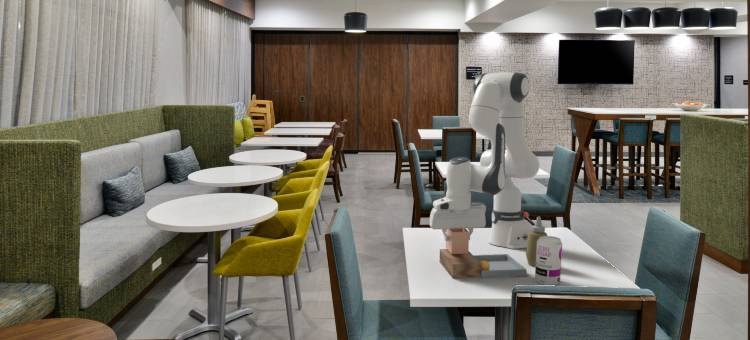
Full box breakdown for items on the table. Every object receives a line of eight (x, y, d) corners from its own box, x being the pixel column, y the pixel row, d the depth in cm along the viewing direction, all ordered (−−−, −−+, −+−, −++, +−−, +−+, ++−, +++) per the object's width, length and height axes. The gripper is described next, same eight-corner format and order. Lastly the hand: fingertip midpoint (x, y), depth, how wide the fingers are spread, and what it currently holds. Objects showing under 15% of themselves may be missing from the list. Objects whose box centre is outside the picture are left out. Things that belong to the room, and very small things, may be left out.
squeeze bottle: (545, 269, 206) (547, 220, 203) (522, 265, 210) (525, 217, 207) (550, 263, 213) (552, 216, 210) (528, 259, 217) (530, 213, 214)
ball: (485, 257, 203) (475, 262, 203) (489, 260, 199) (478, 265, 199) (489, 267, 204) (479, 271, 203) (493, 270, 200) (482, 275, 199)
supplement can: (559, 279, 196) (562, 236, 194) (560, 287, 188) (562, 243, 186) (535, 276, 199) (537, 234, 196) (534, 284, 191) (536, 240, 188)
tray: (507, 260, 216) (507, 253, 216) (526, 276, 199) (526, 269, 198) (466, 261, 214) (466, 255, 214) (481, 278, 196) (481, 271, 196)
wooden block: (465, 261, 215) (465, 248, 214) (480, 277, 197) (481, 263, 197) (439, 262, 214) (439, 249, 213) (452, 278, 196) (453, 264, 195)
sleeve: (461, 247, 213) (462, 226, 212) (468, 253, 205) (469, 231, 204) (445, 247, 212) (446, 226, 211) (451, 254, 204) (452, 232, 203)
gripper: (483, 200, 210) (481, 236, 213) (428, 201, 208) (428, 238, 210) (488, 204, 204) (487, 241, 206) (432, 205, 201) (432, 243, 204)
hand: (457, 240), depth 208 cm, fingers open, 6 cm apart
